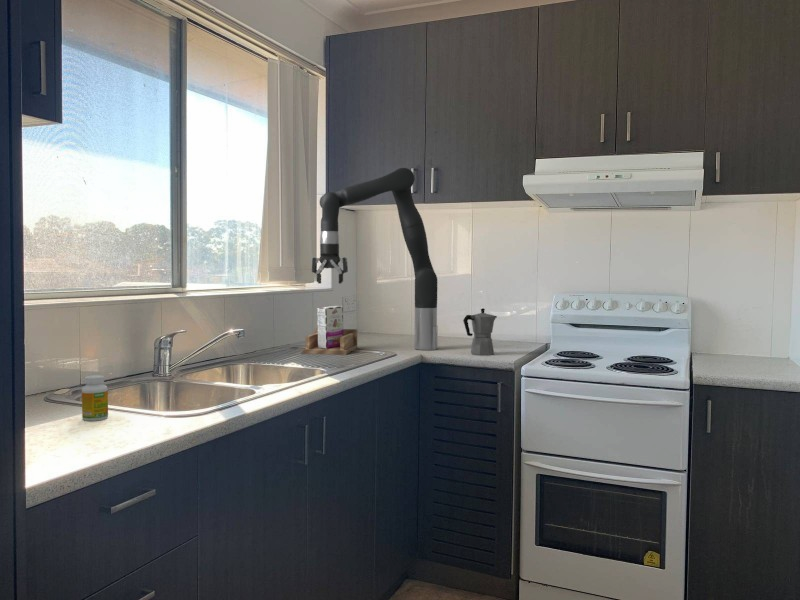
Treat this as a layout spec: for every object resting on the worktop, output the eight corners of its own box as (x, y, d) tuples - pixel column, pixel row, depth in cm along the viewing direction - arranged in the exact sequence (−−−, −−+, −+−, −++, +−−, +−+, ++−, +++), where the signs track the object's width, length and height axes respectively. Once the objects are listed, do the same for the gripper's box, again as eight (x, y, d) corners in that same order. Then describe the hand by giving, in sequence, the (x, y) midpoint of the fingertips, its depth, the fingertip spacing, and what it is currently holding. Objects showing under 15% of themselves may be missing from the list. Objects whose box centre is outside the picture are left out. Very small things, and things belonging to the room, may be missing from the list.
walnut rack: (357, 348, 278) (357, 329, 278) (346, 354, 260) (346, 334, 259) (315, 347, 281) (315, 328, 281) (301, 353, 263) (301, 333, 262)
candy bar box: (334, 345, 277) (334, 305, 276) (343, 346, 274) (343, 306, 273) (316, 348, 267) (316, 307, 266) (326, 349, 265) (326, 307, 264)
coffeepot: (489, 351, 271) (489, 307, 270) (503, 354, 263) (503, 308, 262) (456, 353, 264) (457, 308, 263) (470, 356, 256) (470, 309, 255)
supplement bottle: (95, 422, 150) (94, 379, 149) (76, 420, 152) (75, 377, 151) (113, 417, 155) (112, 375, 154) (95, 415, 157) (94, 373, 156)
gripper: (349, 243, 271) (349, 283, 271) (315, 243, 273) (315, 283, 274) (344, 242, 263) (344, 283, 264) (309, 242, 266) (309, 283, 266)
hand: (329, 283), depth 269 cm, fingers open, 8 cm apart
